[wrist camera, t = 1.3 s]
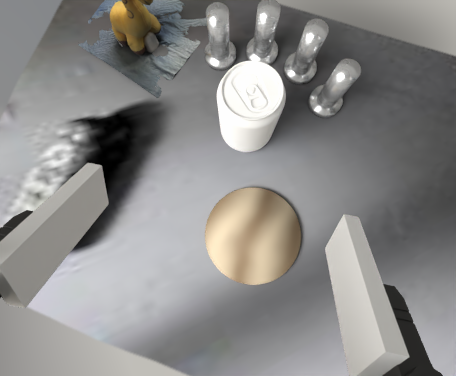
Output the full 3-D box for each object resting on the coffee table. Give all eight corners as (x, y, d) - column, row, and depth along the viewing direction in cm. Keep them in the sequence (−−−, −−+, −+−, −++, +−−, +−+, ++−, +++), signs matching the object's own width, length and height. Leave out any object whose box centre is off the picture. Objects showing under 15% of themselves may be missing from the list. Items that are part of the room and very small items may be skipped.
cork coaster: (306, 198, 40) (308, 197, 39) (291, 293, 38) (292, 294, 37) (216, 180, 40) (215, 179, 40) (196, 272, 39) (196, 273, 38)
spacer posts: (347, 54, 43) (378, 9, 34) (337, 120, 41) (366, 91, 33) (210, 30, 44) (205, -19, 35) (196, 94, 42) (186, 59, 34)
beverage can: (258, 96, 42) (268, 45, 30) (281, 140, 41) (300, 105, 29) (212, 116, 42) (204, 74, 30) (234, 161, 41) (235, 135, 29)
